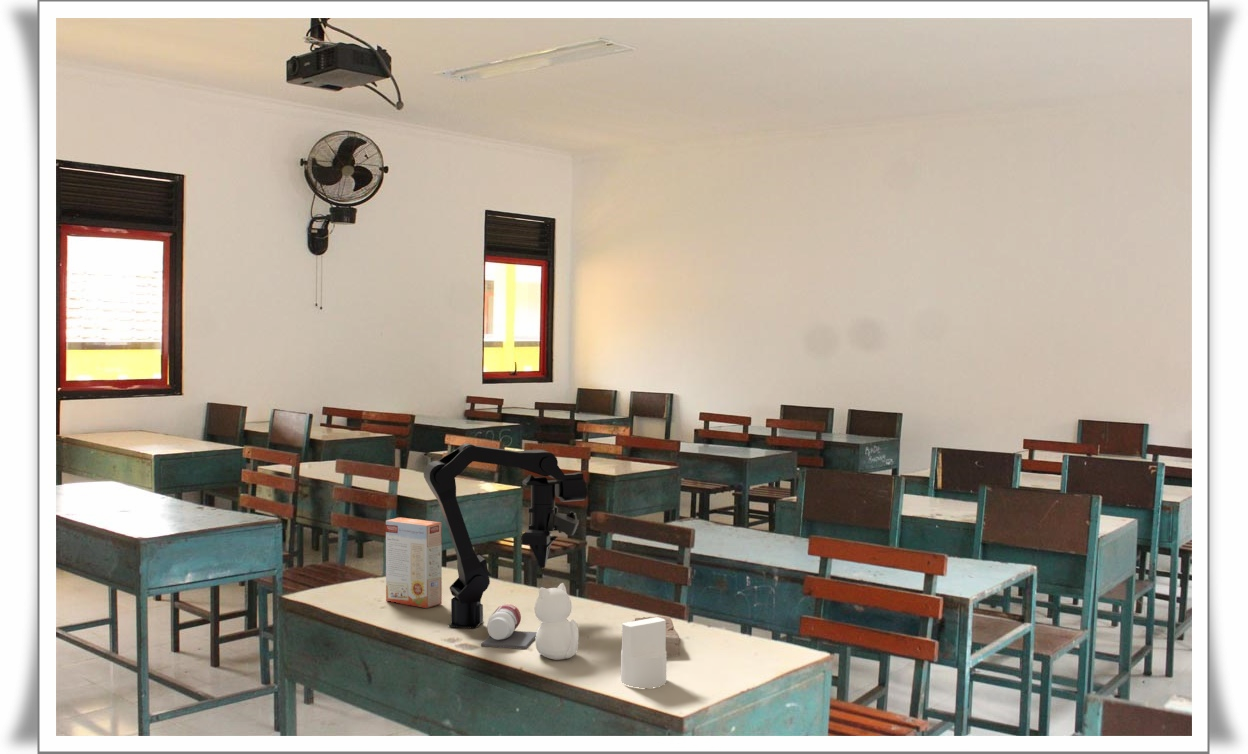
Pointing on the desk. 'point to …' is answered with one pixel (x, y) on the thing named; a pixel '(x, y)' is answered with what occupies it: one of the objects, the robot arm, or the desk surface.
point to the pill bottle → (504, 621)
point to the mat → (511, 640)
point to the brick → (669, 636)
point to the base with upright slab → (644, 653)
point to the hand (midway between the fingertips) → (542, 567)
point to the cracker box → (413, 562)
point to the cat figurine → (555, 624)
